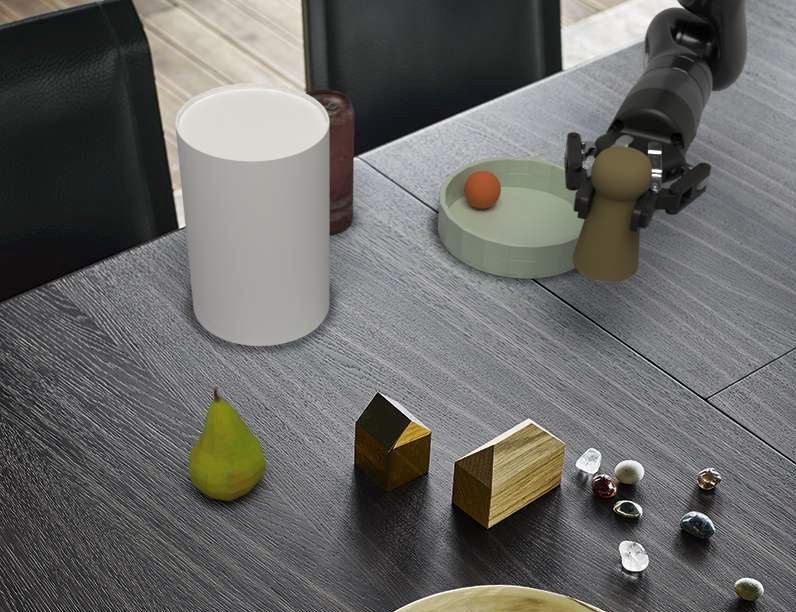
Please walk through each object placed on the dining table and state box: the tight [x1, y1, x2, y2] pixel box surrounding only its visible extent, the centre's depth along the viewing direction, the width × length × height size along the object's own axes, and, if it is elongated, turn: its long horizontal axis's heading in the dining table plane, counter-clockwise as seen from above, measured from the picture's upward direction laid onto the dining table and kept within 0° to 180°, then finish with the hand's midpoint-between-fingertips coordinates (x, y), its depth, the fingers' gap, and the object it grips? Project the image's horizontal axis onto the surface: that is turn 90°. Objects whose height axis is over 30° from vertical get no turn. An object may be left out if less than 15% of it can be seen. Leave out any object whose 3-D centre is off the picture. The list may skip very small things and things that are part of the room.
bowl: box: [437, 155, 584, 280], centre depth 134 cm, size 17×17×4 cm
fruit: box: [188, 386, 267, 502], centre depth 103 cm, size 6×6×12 cm
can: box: [305, 88, 355, 236], centre depth 131 cm, size 6×6×14 cm
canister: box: [174, 82, 331, 347], centre depth 118 cm, size 14×14×20 cm
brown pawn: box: [573, 146, 652, 283], centre depth 111 cm, size 6×6×11 cm
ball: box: [464, 171, 501, 209], centre depth 137 cm, size 4×4×4 cm
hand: (608, 216), depth 108 cm, fingers closed on brown pawn, 4 cm apart
